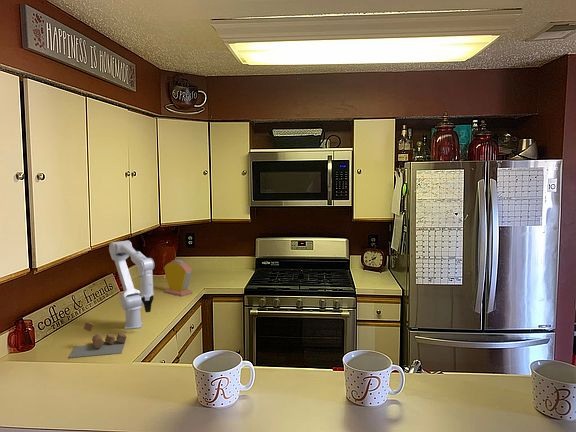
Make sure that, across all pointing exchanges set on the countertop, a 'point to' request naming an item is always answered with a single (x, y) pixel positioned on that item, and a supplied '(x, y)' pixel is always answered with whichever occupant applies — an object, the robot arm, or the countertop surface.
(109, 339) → the wooden block set
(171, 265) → the yellow arched block
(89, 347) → the mat
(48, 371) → the countertop surface
